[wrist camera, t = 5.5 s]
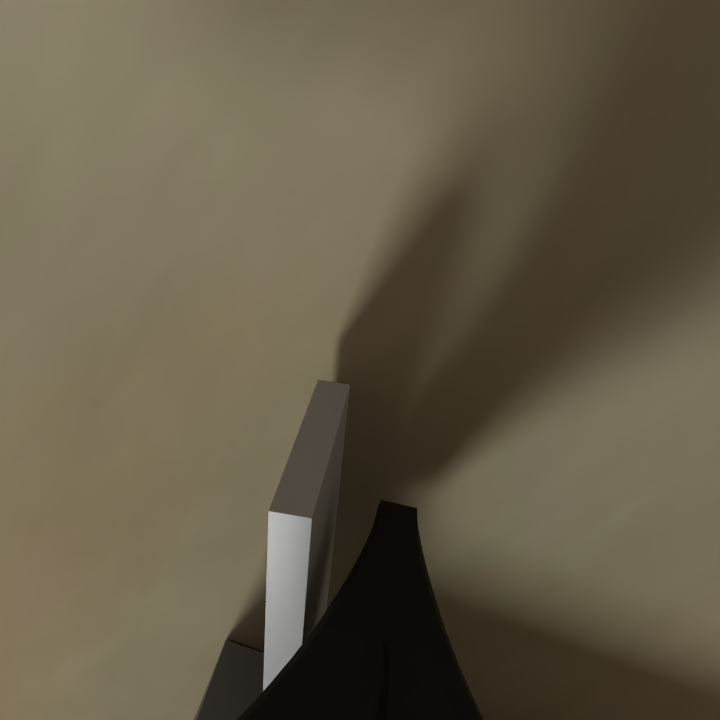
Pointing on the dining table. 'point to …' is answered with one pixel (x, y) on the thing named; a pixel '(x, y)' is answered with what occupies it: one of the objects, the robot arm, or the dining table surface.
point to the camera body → (232, 683)
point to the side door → (304, 528)
